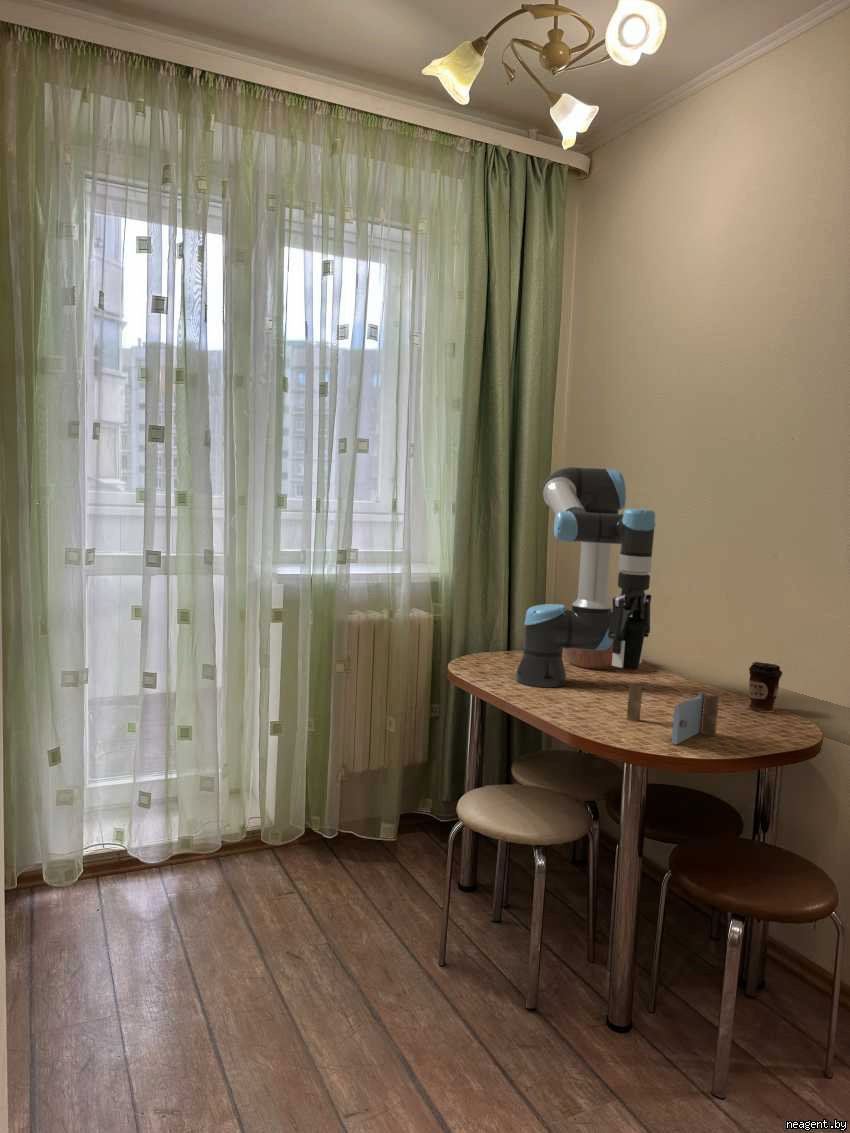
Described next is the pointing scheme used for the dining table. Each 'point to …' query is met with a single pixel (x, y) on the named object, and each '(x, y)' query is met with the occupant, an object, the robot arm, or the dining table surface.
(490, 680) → the dining table surface
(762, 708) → the coffee cup
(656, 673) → the dining table surface
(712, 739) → the dining table surface
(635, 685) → the door frame
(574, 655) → the bowl
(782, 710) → the dining table surface
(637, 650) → the cup
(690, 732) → the door
